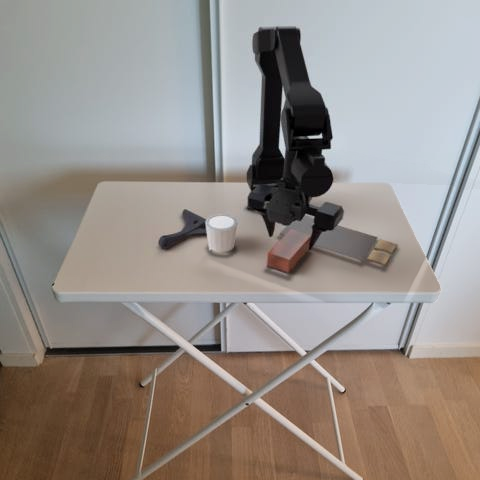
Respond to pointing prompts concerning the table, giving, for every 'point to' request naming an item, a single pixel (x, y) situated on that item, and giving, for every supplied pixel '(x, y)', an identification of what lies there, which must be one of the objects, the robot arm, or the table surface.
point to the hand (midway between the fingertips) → (290, 242)
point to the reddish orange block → (288, 251)
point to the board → (336, 238)
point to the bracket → (185, 229)
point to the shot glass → (221, 232)
